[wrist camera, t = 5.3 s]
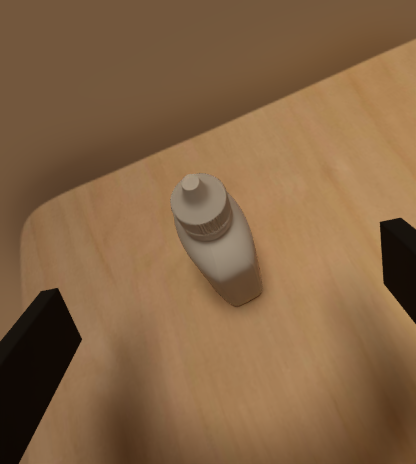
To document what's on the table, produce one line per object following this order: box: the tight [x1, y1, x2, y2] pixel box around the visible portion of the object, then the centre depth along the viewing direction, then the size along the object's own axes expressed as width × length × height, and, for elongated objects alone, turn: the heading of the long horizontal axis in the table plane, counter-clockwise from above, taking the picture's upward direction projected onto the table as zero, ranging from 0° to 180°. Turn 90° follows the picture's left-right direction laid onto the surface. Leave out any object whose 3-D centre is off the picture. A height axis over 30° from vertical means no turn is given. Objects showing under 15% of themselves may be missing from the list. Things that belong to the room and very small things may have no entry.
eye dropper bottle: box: [170, 173, 262, 306], centre depth 19 cm, size 4×6×12 cm
